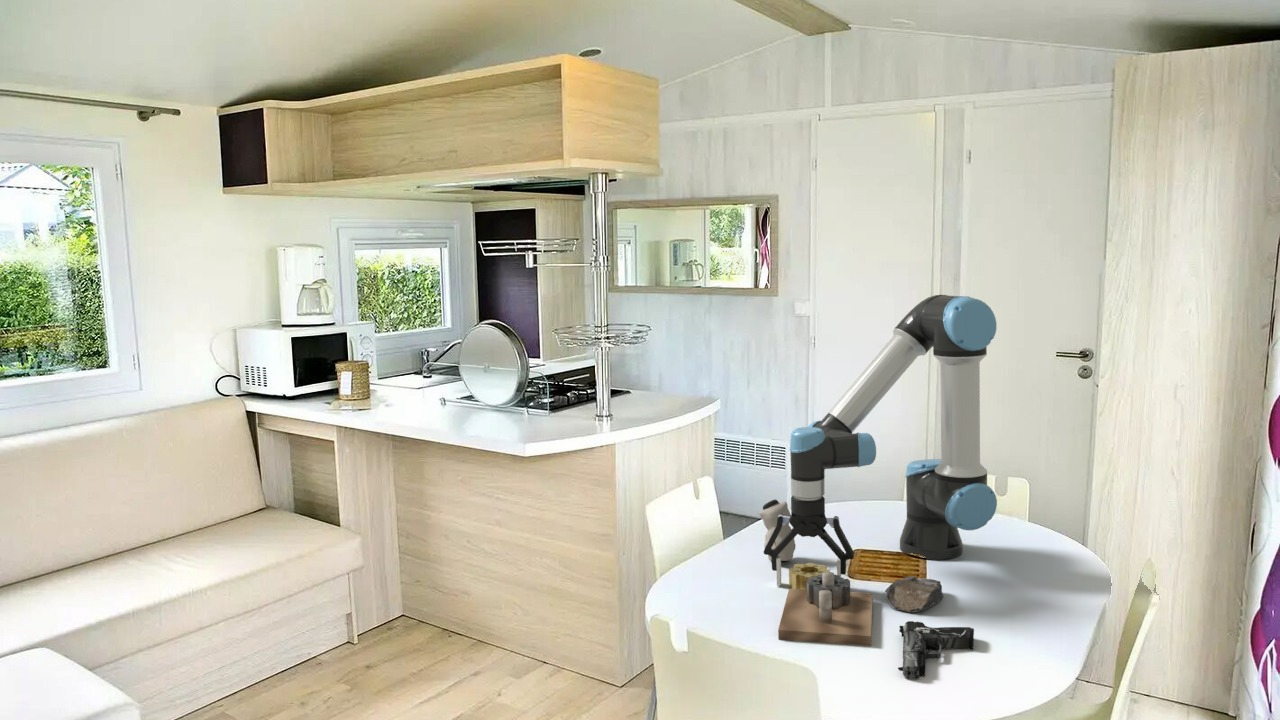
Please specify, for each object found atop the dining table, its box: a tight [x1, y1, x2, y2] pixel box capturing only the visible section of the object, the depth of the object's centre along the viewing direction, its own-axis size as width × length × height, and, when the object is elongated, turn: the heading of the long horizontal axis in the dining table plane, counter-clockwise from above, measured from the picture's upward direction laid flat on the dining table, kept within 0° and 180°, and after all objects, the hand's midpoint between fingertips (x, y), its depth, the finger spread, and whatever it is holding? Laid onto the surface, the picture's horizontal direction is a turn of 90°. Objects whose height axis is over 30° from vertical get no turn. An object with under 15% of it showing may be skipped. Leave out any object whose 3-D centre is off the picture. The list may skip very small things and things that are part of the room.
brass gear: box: [788, 562, 831, 590], centre depth 208 cm, size 9×9×4 cm
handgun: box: [897, 620, 975, 680], centre depth 171 cm, size 20×3×14 cm
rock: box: [885, 575, 944, 613], centre depth 197 cm, size 14×11×5 cm
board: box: [777, 571, 873, 647], centre depth 189 cm, size 18×22×8 cm
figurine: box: [758, 499, 796, 562], centre depth 225 cm, size 9×10×15 cm
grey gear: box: [807, 574, 851, 608], centre depth 194 cm, size 9×9×4 cm
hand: (808, 585), depth 208 cm, fingers open, 13 cm apart
